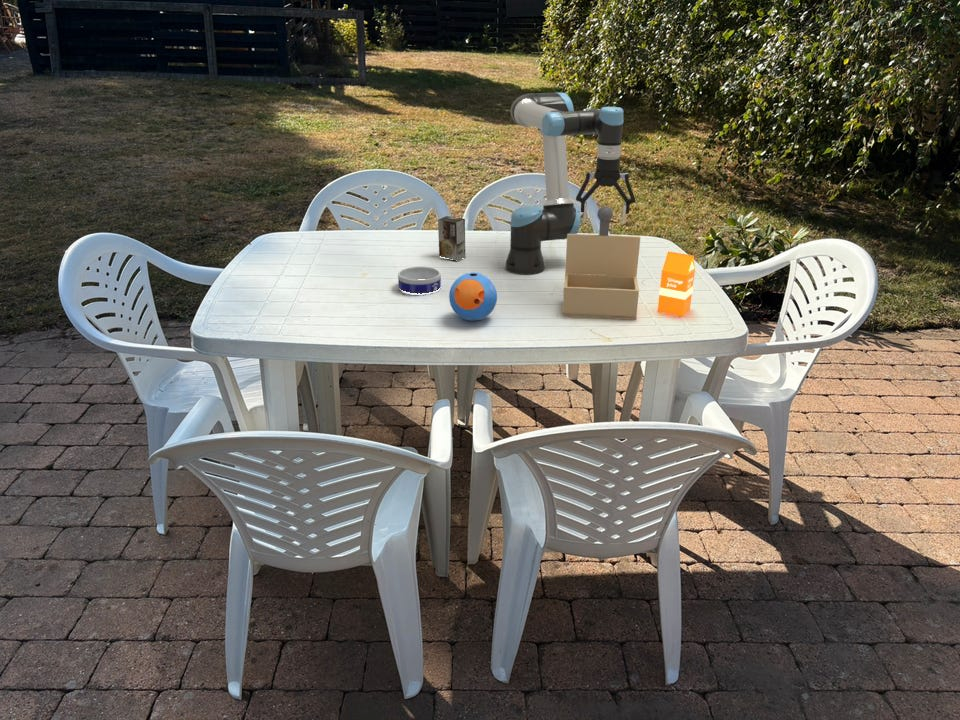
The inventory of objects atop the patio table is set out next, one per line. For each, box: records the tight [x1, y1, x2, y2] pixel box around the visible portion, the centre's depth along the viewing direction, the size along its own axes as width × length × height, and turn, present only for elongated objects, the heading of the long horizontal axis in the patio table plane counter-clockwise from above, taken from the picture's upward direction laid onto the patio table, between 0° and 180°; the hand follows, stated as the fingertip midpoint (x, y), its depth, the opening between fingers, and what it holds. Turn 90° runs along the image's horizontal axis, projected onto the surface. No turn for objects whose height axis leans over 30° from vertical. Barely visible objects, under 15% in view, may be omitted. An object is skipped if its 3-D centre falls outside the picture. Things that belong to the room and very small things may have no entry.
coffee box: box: [437, 215, 466, 262], centre depth 307 cm, size 9×6×16 cm
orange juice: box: [657, 250, 696, 317], centre depth 256 cm, size 8×9×20 cm
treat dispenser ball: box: [448, 272, 498, 322], centre depth 250 cm, size 16×15×15 cm
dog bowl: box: [397, 266, 442, 294], centre depth 278 cm, size 15×15×6 cm
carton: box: [562, 273, 640, 321], centre depth 258 cm, size 24×14×10 cm, turn 83°
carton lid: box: [564, 205, 641, 277], centre depth 258 cm, size 24×24×5 cm
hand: (603, 222), depth 259 cm, fingers open, 12 cm apart
